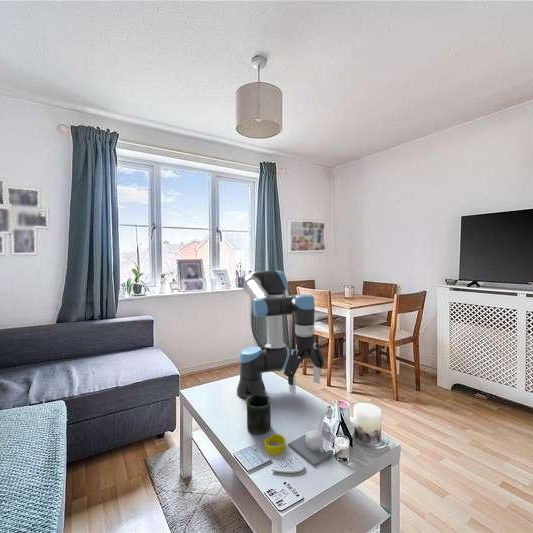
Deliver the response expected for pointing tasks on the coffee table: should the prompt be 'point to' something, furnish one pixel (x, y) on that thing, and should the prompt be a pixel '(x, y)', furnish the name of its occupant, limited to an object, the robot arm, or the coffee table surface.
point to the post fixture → (311, 447)
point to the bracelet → (276, 449)
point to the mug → (258, 414)
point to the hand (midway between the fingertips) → (304, 387)
